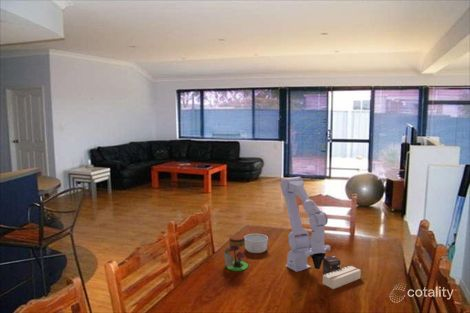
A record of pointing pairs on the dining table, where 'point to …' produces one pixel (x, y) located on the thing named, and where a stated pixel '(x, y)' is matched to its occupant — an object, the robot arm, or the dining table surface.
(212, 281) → the dining table surface
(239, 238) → the plant terrarium
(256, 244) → the ramekin
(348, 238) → the dining table surface
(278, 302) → the dining table surface
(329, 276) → the striped peg rail
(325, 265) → the box
